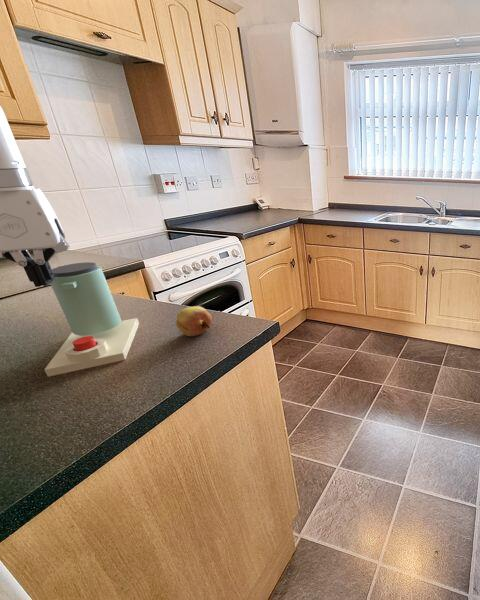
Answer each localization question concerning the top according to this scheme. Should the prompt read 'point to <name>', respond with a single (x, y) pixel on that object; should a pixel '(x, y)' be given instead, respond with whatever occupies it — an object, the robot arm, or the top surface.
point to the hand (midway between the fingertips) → (44, 283)
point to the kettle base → (94, 349)
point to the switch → (84, 343)
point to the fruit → (193, 320)
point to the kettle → (85, 298)
